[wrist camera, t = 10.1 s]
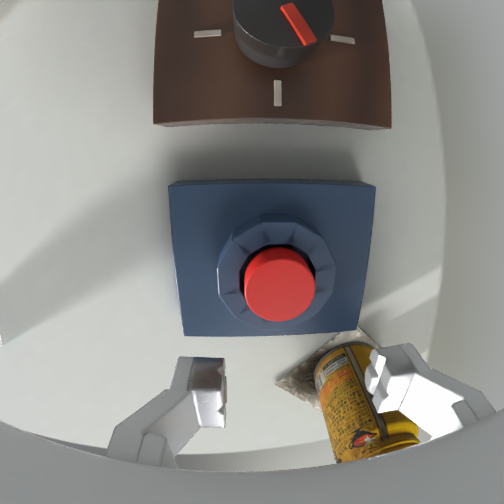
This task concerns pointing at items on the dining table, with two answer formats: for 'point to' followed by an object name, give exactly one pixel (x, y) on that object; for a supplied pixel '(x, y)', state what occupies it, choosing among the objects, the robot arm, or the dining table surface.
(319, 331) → the button housing
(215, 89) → the dial panel
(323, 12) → the dial
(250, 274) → the button
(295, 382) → the condiment
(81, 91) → the dining table surface
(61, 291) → the dining table surface
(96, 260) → the dining table surface
